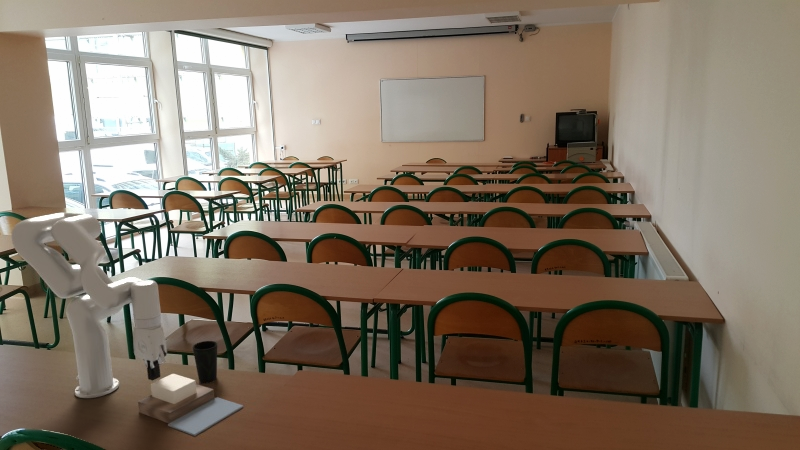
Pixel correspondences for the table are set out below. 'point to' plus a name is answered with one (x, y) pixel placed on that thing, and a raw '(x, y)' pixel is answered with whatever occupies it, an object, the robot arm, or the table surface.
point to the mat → (205, 416)
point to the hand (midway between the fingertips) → (154, 378)
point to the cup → (206, 361)
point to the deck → (175, 405)
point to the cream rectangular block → (173, 388)
